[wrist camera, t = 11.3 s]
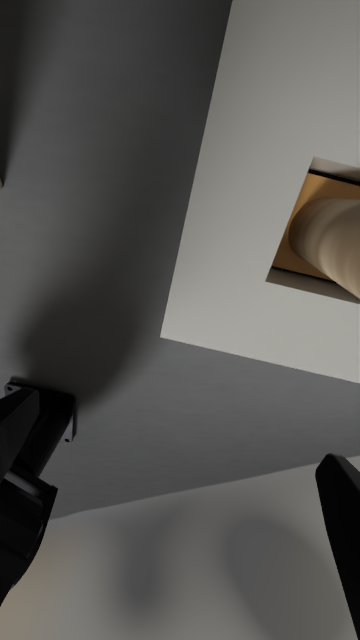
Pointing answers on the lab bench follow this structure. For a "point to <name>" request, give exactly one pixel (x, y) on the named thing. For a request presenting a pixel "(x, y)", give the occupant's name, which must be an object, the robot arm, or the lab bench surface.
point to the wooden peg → (330, 239)
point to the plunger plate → (310, 191)
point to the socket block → (271, 188)
